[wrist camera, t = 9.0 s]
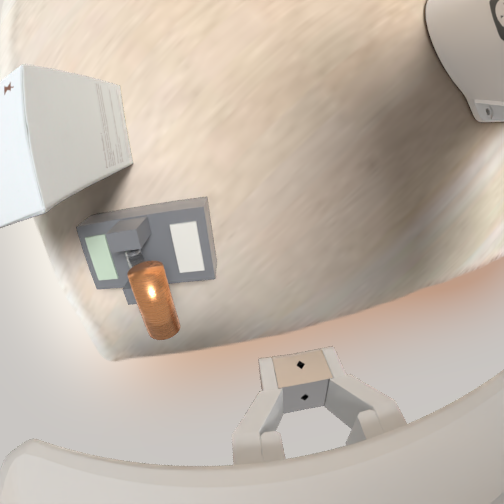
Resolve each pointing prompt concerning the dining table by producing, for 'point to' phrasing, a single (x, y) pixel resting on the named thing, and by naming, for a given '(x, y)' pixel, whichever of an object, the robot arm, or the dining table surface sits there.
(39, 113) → the supplement box
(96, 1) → the dining table surface
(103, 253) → the breaker housing
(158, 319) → the breaker lever
